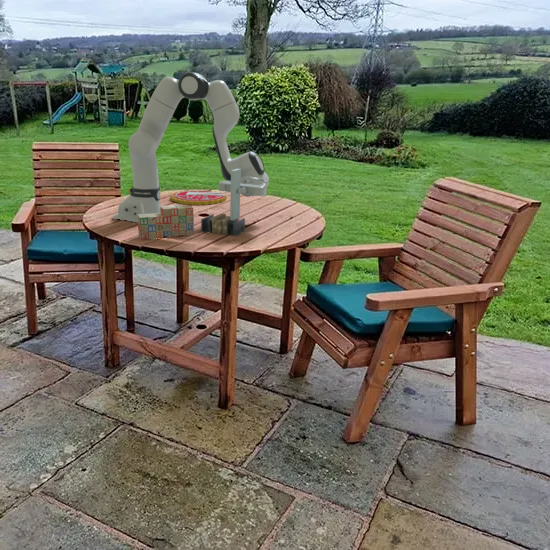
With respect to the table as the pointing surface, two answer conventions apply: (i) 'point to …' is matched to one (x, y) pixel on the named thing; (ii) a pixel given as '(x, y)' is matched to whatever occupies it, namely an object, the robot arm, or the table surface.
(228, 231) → the slot rack
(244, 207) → the table surface
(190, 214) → the stack of blocks
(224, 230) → the offcut
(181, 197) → the decorative sign
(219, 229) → the offcut
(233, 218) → the tall panel
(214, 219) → the offcut
